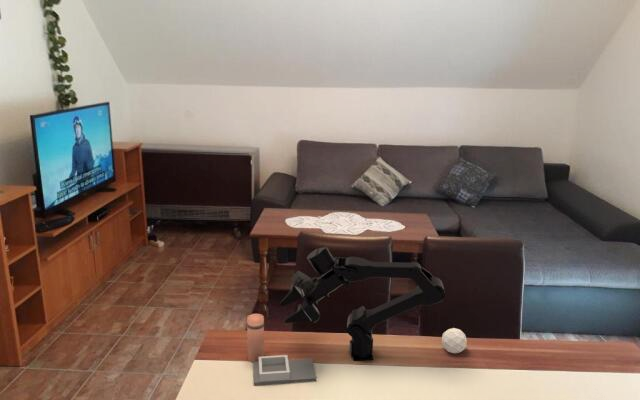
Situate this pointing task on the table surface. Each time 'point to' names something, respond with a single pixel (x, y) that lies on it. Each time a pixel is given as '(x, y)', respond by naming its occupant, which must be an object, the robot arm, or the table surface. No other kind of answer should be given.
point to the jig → (282, 370)
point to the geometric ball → (454, 340)
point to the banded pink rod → (255, 337)
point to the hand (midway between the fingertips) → (282, 313)
